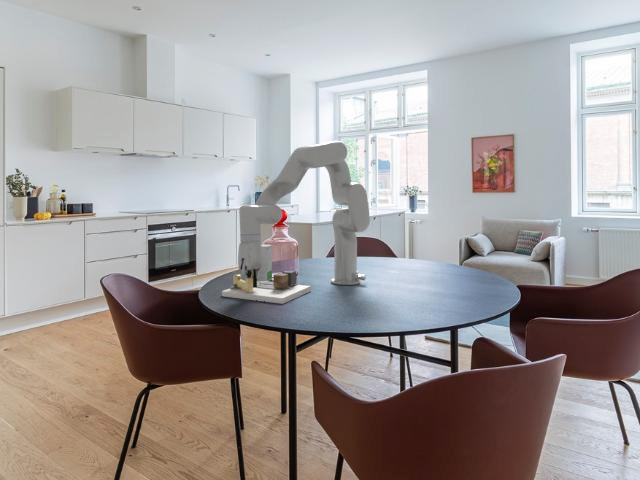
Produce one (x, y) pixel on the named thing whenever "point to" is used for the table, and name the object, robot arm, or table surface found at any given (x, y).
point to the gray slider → (291, 277)
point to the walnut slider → (280, 280)
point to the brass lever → (243, 283)
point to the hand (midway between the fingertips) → (252, 286)
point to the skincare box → (266, 264)
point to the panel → (268, 292)
